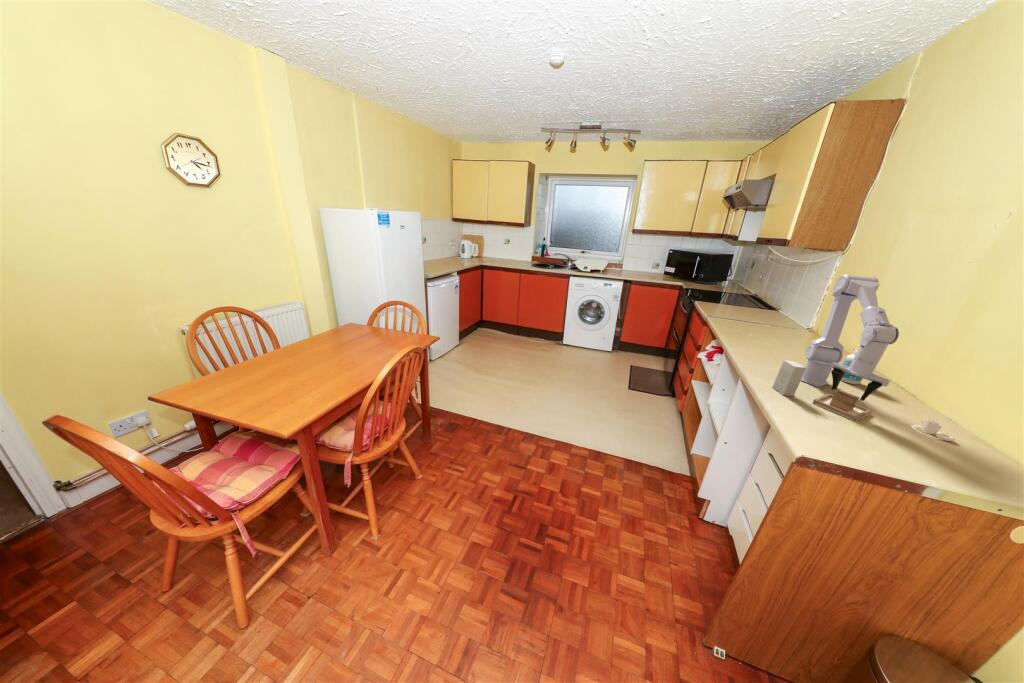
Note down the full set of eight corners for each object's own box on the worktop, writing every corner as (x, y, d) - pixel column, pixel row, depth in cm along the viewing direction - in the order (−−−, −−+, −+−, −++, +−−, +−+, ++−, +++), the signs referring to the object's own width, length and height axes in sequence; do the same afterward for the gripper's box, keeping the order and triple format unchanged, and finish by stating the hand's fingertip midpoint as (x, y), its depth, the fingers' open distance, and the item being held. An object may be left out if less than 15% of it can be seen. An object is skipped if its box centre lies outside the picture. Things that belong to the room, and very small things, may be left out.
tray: (827, 396, 124) (828, 393, 123) (869, 413, 114) (871, 410, 114) (812, 403, 118) (814, 399, 118) (855, 421, 109) (857, 417, 108)
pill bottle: (832, 378, 141) (846, 349, 136) (841, 375, 143) (855, 347, 138) (854, 386, 134) (870, 356, 129) (863, 383, 137) (879, 354, 132)
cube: (834, 402, 119) (841, 390, 117) (852, 409, 115) (859, 397, 113) (829, 404, 117) (835, 392, 115) (847, 412, 113) (853, 399, 111)
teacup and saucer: (958, 445, 101) (966, 434, 99) (927, 440, 102) (934, 429, 101) (932, 428, 109) (938, 418, 107) (903, 424, 110) (909, 413, 109)
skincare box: (794, 396, 122) (807, 367, 118) (782, 395, 122) (795, 367, 118) (782, 388, 128) (794, 360, 123) (771, 387, 128) (782, 359, 123)
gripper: (833, 352, 113) (817, 386, 118) (892, 370, 101) (871, 407, 106) (842, 350, 116) (825, 383, 121) (900, 367, 105) (879, 403, 110)
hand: (847, 394), depth 114 cm, fingers open, 7 cm apart
